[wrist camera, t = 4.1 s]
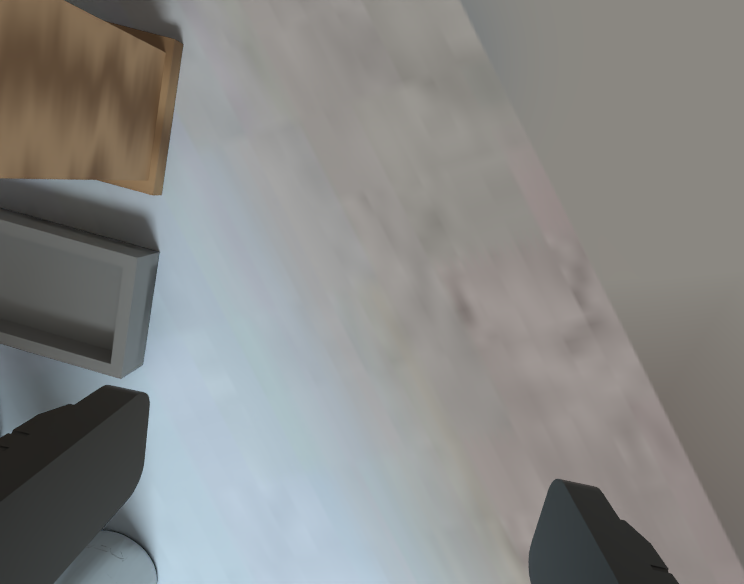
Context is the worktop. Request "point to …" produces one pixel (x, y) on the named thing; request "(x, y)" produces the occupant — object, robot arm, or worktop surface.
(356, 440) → the worktop surface
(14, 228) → the tray
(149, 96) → the stand
